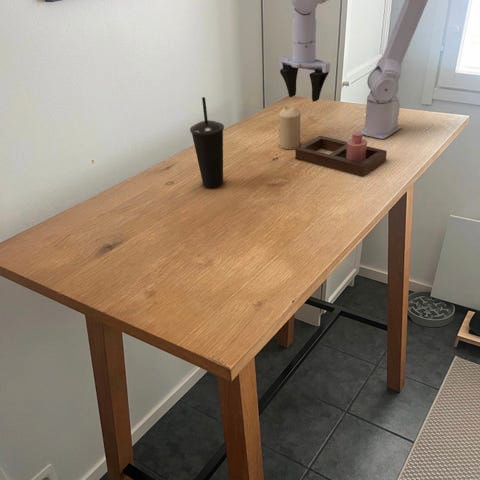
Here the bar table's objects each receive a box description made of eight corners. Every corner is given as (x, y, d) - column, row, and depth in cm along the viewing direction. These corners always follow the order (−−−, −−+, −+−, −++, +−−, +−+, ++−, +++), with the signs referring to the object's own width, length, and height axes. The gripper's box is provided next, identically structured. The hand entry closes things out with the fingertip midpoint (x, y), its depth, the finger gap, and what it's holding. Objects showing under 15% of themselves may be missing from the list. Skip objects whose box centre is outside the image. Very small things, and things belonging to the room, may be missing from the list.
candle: (276, 148, 136) (275, 110, 130) (284, 140, 140) (284, 103, 133) (295, 150, 134) (295, 111, 127) (303, 142, 138) (303, 105, 131)
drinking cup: (225, 191, 118) (216, 103, 105) (193, 191, 120) (181, 103, 107) (232, 177, 124) (224, 92, 111) (202, 177, 125) (191, 92, 113)
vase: (352, 158, 127) (354, 128, 123) (369, 162, 125) (371, 132, 120) (341, 165, 125) (343, 134, 120) (358, 169, 122) (361, 138, 117)
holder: (319, 145, 136) (319, 135, 134) (385, 160, 125) (387, 150, 123) (295, 158, 130) (295, 148, 128) (362, 176, 119) (363, 166, 117)
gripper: (271, 42, 127) (273, 98, 136) (319, 47, 119) (317, 106, 128) (288, 36, 131) (289, 91, 140) (335, 40, 123) (333, 99, 132)
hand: (303, 98), depth 134 cm, fingers open, 7 cm apart
